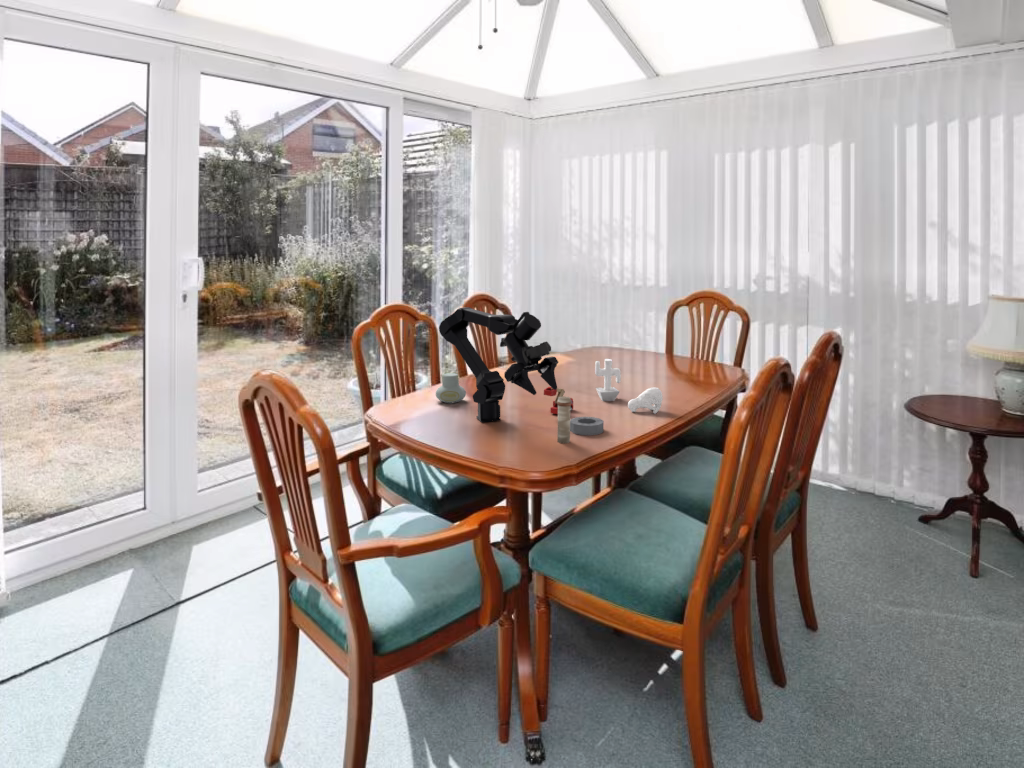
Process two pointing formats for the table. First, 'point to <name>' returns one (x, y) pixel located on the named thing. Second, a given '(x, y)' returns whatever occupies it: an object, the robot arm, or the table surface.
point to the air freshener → (450, 389)
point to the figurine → (607, 380)
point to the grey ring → (586, 425)
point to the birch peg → (563, 419)
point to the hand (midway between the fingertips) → (545, 391)
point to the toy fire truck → (552, 392)
